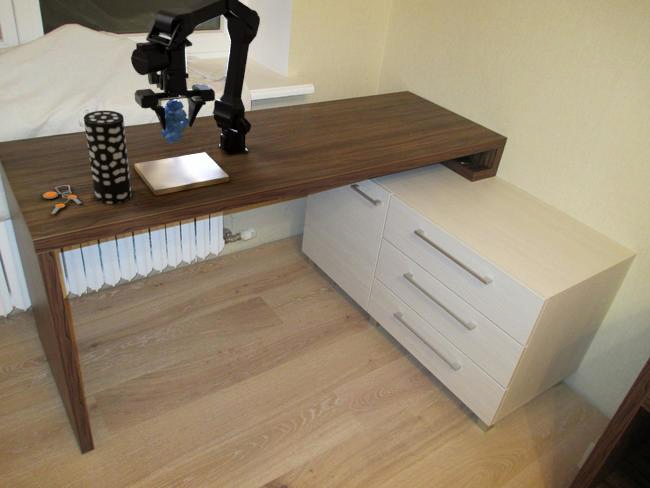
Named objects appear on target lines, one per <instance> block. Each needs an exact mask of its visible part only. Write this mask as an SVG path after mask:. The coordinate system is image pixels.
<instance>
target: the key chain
mask: <svg viewBox="0 0 650 488" xmlns="http://www.w3.org/2000/svg"><path fill="white" fill-rule="evenodd" d="M63 187H68V190H66V191H64V192H60V191H59V189H58V188H63ZM54 189H55V190H56V191H47V192H44V193H42V197H43V199H45V200H46V199H47V200H50V199H51V200H52V199H55V198H58V196H59V195H61V197H62V199H64V200H65V199H66V201H65V202H63V203H57V204H55V205H54V208H53V210H52V212H50V214H51V215H55V214H57V212H58V211H59V210H60V209H64V208H65V207H66V204H67V203H68V202H69V201H70V200H71V201H73V202H75V203H76V204H77V205H81V204H82V202H81V201H80V199H78V196H77V195H76V194H72V193H73V192H72V191H71V186H70V184H64V185H58V186H55V187H54Z"/></svg>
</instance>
